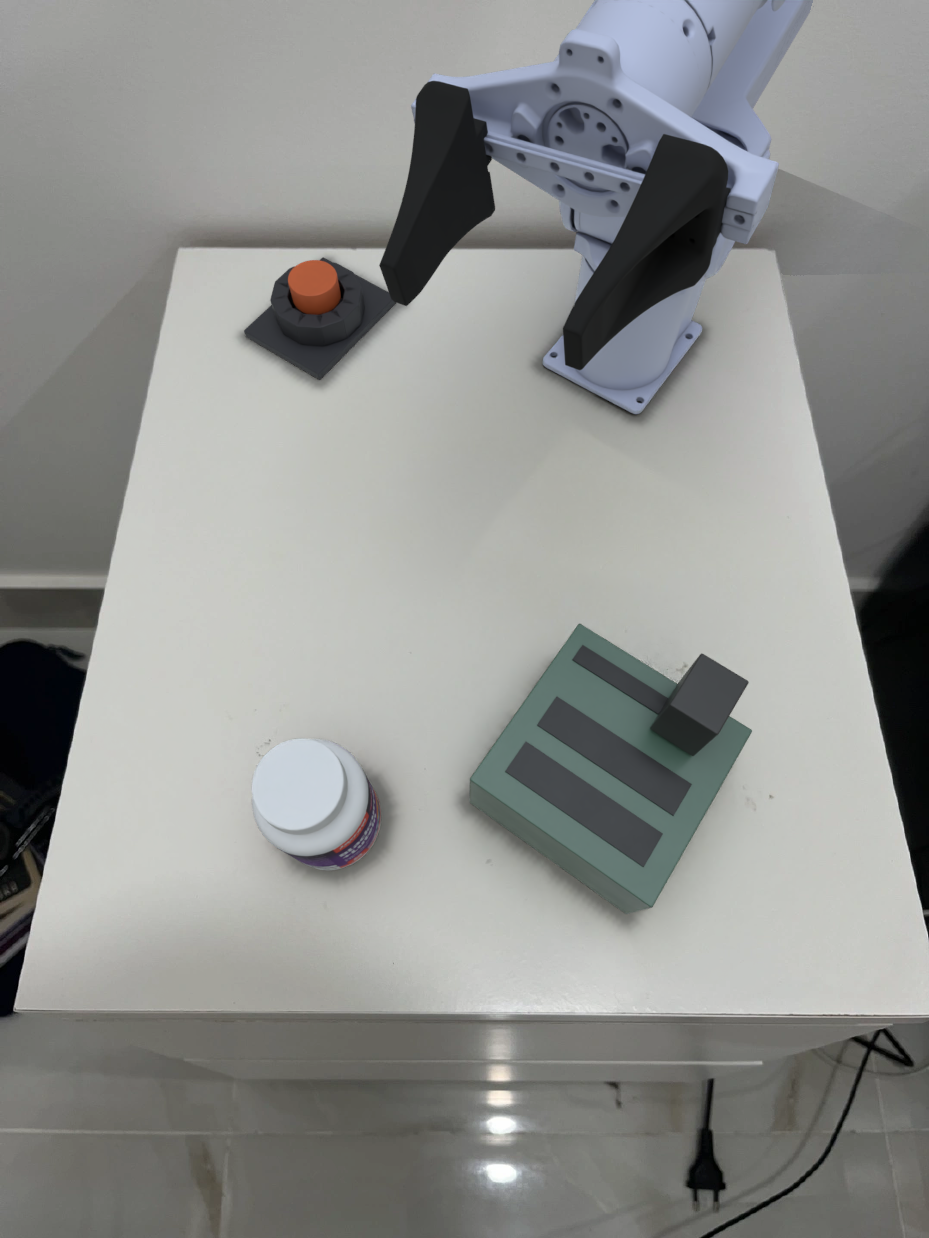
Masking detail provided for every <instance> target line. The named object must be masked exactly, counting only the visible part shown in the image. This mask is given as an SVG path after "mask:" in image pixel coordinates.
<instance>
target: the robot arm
mask: <svg viewBox="0 0 929 1238" xmlns="http://www.w3.org/2000/svg"><path fill="white" fill-rule="evenodd" d="M812 3H813V0H594V1H593V2H592V3H591V5H590V7H589V8H588V10H586V13H585V14H584V15H583V17H582V19H581V20H580V22H579V23H578V25H577V26H576V27H575V28H574V29H571V30H570V31H569V32H568V33H567V34H566V35H565V37H564V39H562V42H561V43H560V44H559V50H558V54H557V55H556V57H555V58H554V60H553V61H548V62H542V63H538V64H531V65H526V66H520V67H514V68H509V69H504V70H498V71H492V72H487V73H480V74H475V75H467V76H450V75H444V74H440V73H433V74H432V75H431V77H430V78H429V79H428V81H427V82H426V83H425V84H423V86H422V87H421V89H420V90H419V92H418V93H417V95H416V97H415V99H414V101H413V102H412V103H411V105H410V108H411V113H412V117H413V124H414V131H413V139H412V140H413V141H412V149H411V156H410V157H411V158H410V164H409V168H408V174H407V178H406V184H405V188H404V191H403V195H402V199H401V202H400V207H399V209H398V213H397V216H396V219H395V221H394V225H393V228H392V230H391V233H390V236H389V239H388V242H387V244H386V247H385V249H384V252H383V255H382V257H381V260H380V262H379V265H378V266H379V269H380V271H381V274H382V277H383V280H384V283H385V286H386V288H387V292H389V294H390V297H391V299H392V300H393V301H394V302H396V304H399V305H402V306H405V307H408V306H409V305H410V304H411V303H412V302H413V301H414V300H415V299H416V298H417V297H418V296H419V295H420V294H421V293H422V291H423V290H424V288H425V287H426V286H427V284H428V283H429V282H430V280H431V278H432V277H433V275H435V272H436V271H437V269H438V268H439V266H440V265H441V264H442V262H443V261H444V259H445V258H446V257H447V255H448V254H449V252H451V250H452V249H453V248H454V247H455V246H456V245H457V244H458V243H459V242H460V241H461V240H462V239H463V238H464V237H465V236H466V235H467V234H468V233H469V232H470V231H472V230H473V229H474V228H475V227H477V226H478V225H479V224H481V223H482V222H484V221H485V220H487V219H488V218H491V217H492V216H493V214H494V213H495V211H496V204H495V196H494V191H493V189H494V188H493V184H492V183H493V182H492V176H491V171H489V167H488V166H489V165H490V164H491V162H492V160H494V161H495V162H497V163H499V164H500V165H502V166H503V167H504V168H506V169H508V170H509V171H511V172H513V173H514V174H516V175H518V177H521V178H522V179H524V180H526V181H527V182H529V183H531V184H532V185H533V186H535V187H537V188H538V189H540V190H542V191H543V192H544V193H546V194H548V195H549V196H551V197H552V198H554V199H556V200H558V205H559V207H558V208H559V213H560V216H561V222H562V224H563V227H564V228H565V229H566V230H568V231H570V232H573V233H575V238H574V244H573V245H574V246H573V251H574V252H576V253H578V254H580V255H581V259H580V260H581V261H580V267H579V273H578V278H577V279H578V280H577V284H576V285H577V286H576V291H575V298H574V303H573V306H572V308H571V310H570V312H569V314H568V316H567V318H566V321H565V323H564V325H563V327H562V335H561V336H560V337H559V339H558V340H557V341H556V342H555V343H554V345H553V346H552V347H551V348H550V349H549V350H548V351H547V353H546V354H545V355H544V356H543V357H542V365H543V366H544V367H545V368H546V369H548V370H550V371H552V372H553V373H556V374H558V375H559V376H561V377H563V378H565V379H567V380H569V381H571V382H572V383H574V384H576V385H578V386H580V387H582V388H583V389H585V390H587V391H589V392H591V393H593V394H595V395H596V396H599V397H601V398H602V399H604V400H606V401H609V402H610V403H612V404H614V405H615V406H618V407H619V408H621V409H623V410H626V411H627V412H629V413H630V414H633V415H639V414H641V413H642V412H643V411H644V410H645V408H646V407H647V406H648V405H649V403H650V401H651V400H652V399H653V397H655V395H656V394H657V392H658V391H659V390H660V389H661V387H662V386H663V384H664V383H665V382H666V380H667V379H668V378H669V377H670V375H671V374H672V372H673V371H674V370H675V369H676V368H677V366H678V365H679V363H680V362H681V360H682V359H683V358H684V357H685V356H686V354H687V353H688V352H689V350H690V349H691V347H692V346H693V345H694V344H695V342H696V341H697V339H698V338H699V337H700V335H701V334H702V331H703V326H702V325H701V324H700V323H698V322H696V321H695V320H693V318H694V314H695V312H696V309H697V306H698V303H699V302H700V301H699V300H700V298H701V295H702V292H703V289H704V286H705V284H706V280H707V279H710V278H712V277H714V276H716V275H717V274H718V273H719V271H720V270H721V268H722V267H723V265H724V264H725V262H726V260H727V258H728V257H729V254H730V253H731V251H732V249H733V247H734V246H735V243H740V244H743V245H748V244H749V242H750V240H751V238H752V237H753V235H754V233H755V231H756V229H757V227H758V226H759V224H760V223H761V221H762V218H764V215H765V213H766V212H767V210H768V208H769V206H770V202H771V197H772V195H773V194H772V193H773V190H774V185H775V182H776V177H777V175H778V170H779V165H780V163H779V162H778V161H775V160H772V159H770V158H771V151H770V149H771V148H770V147H771V143H772V136H771V134H770V133H769V131H768V129H767V127H766V126H765V124H764V123H763V121H762V119H760V117H759V116H758V114H757V113H756V111H755V110H754V108H755V106H756V105H757V103H758V101H759V99H760V98H761V96H762V95H763V93H764V91H765V89H766V88H767V86H768V85H769V83H770V81H771V79H772V78H773V76H774V74H775V72H776V71H777V70H778V67H779V66H780V64H781V62H782V60H783V59H784V57H785V56H786V54H787V52H788V50H789V48H790V47H791V45H792V44H793V42H794V40H795V39H796V37H797V35H798V34H799V32H800V30H801V29H802V27H803V25H804V23H805V21H806V20H807V18H808V16H809V15H810V13H811V11H812V10H811V6H812ZM810 10H811V11H810Z"/></svg>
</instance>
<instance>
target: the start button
mask: <svg viewBox="0 0 929 1238" xmlns="http://www.w3.org/2000/svg"><path fill="white" fill-rule="evenodd" d="M293 267H294V266H293ZM288 284H289V288H290V291H291V295H292V299H293V302H294V305H295V306H296V308H297V309H298V310H300V311H301V312H303V313H306V314H314V315H321V314H323V313H326V312H329V311H331V310H333V309H334V308H335V307H336V306H337V305H338V303H339V301H340V298H341V293H340V288H339V282H338V277H337V273H336V270H335V269H334V268H333V267H332V266H331V265H330V264H328V263H326V262H324V261H320V259H311V260H305V261H302V262H300V263H297V264H296V265H295V267H294V268H293V269H292V270H291V272H290V273H289V276H288Z"/></svg>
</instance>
